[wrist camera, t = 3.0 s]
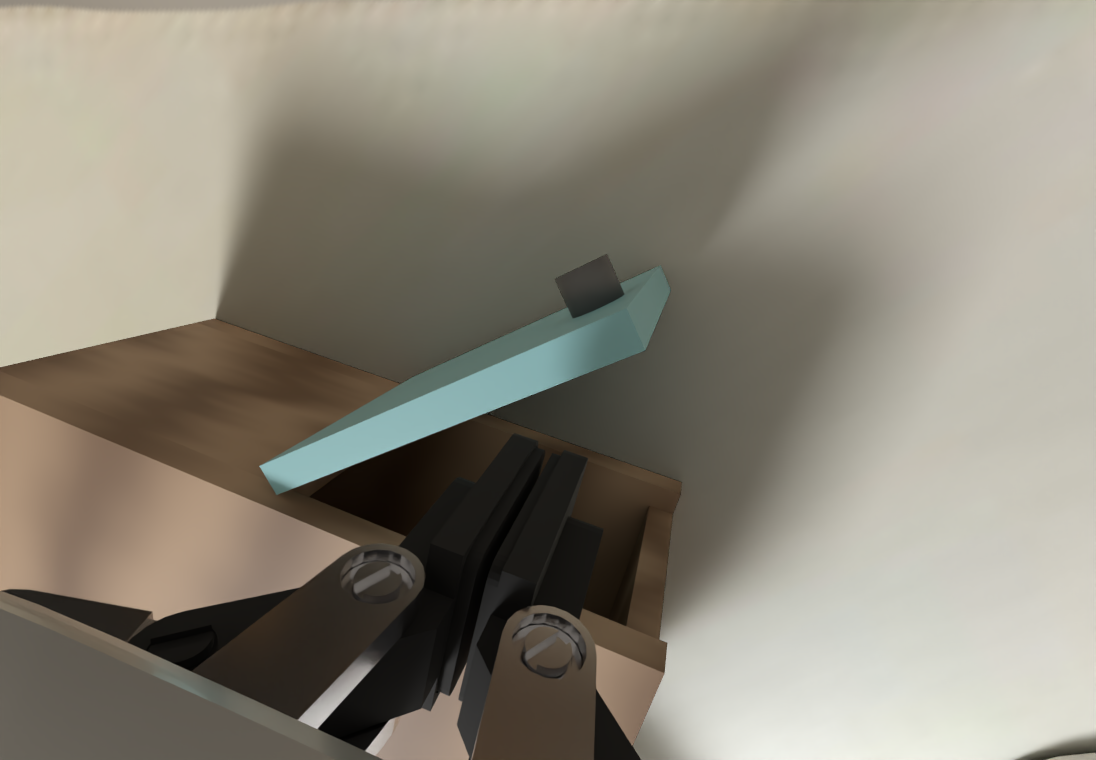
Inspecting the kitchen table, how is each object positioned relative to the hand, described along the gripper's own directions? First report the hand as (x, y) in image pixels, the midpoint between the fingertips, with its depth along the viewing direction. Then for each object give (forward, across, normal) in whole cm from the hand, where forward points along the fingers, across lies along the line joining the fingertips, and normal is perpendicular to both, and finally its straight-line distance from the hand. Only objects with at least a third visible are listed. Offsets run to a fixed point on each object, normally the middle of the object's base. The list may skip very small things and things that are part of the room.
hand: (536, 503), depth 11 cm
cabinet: (+11, +8, +10) cm, 17 cm away
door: (+11, +4, 0) cm, 11 cm away
